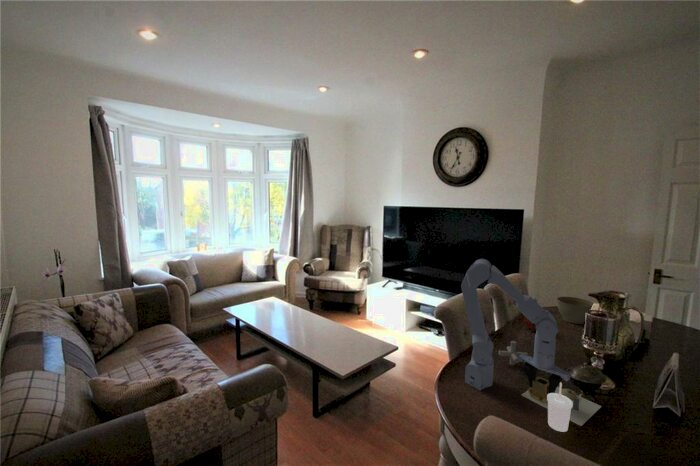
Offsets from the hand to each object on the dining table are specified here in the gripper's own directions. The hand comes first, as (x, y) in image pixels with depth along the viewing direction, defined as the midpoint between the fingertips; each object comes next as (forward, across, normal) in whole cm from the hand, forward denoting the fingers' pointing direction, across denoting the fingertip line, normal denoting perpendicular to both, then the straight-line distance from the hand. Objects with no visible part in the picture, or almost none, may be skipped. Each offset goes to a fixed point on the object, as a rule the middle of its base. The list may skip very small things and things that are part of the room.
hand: (541, 390), depth 102 cm
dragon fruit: (+3, +28, -53) cm, 60 cm away
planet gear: (+2, 0, 0) cm, 2 cm away
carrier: (+3, -4, -2) cm, 6 cm away
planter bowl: (+3, +22, -82) cm, 85 cm away
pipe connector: (+3, +16, -12) cm, 20 cm away
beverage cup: (+3, -9, +10) cm, 14 cm away
